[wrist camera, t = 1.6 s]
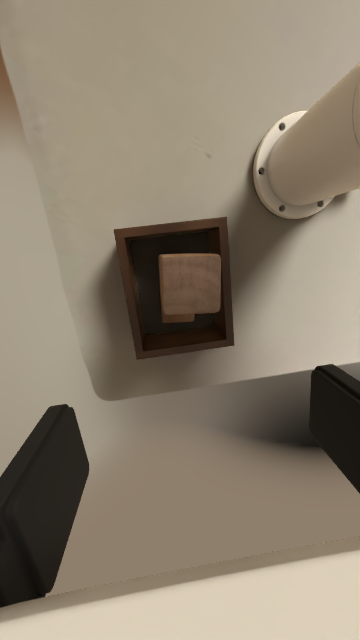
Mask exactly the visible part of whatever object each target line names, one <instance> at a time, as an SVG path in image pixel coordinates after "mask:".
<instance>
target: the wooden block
mask: <svg viewBox="0 0 360 640" xmlns="http://www.w3.org/2000/svg"><path fill="white" fill-rule="evenodd" d="M158 262H159V282H160V302H161V318H162V322H163V323H174V322H192V321H194V319H195V314H201V313H216V312H218V311H219V309H220V292H221V258H220V255H217V254H196V253H182V254H160V255H159V256H158Z"/></svg>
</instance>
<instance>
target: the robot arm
mask: <svg viewBox="0 0 360 640" xmlns="http://www.w3.org/2000/svg"><path fill="white" fill-rule="evenodd" d="M279 129H280V130H279ZM258 171H259V172H260V173H261V174H259V172H258ZM253 178H254V185H255V188H256V191H257V194H258V196H259V198H260V200H261V201H262V203H263V204H264V205H265V206H266V208H267V209H268V210H270V211H271V212H272V213H274V214H275V215H277V216H280V217H282V218H287V219H299V218H305V217H308V216H311V215H313V214H315V213H317V212H319V211H321V210H322V209H323V208H324V207H326V206H327V205H328V204H329V203H330V202H331V200H332V199H333V198H334V197H335V196H336V195H340V194H343V193H346V192H349V191H352V190H355V189H358V188H360V63H358V64H357V65H356V66H355V67H354V68H353V69H352V70H351V71H350V72H349V73H348V74H347V75H346V76H345V77H343V78H342V79H341V80H340V81H339V82H338V83H337V84H336V85H335V86H334V87H333V88H332V89H331V90H330V91H329V92H327V93H326V94H325V95H324V96H323V97H322V98H321V99H320V100H319V101H318V102H317V103H316V104H315V105H314V106H312V107H311V108H310V109H309V110H308V111H299V112H295V113H292V114H290V115H287V116H285V117H284V118H282V119H281V120H279V121H278V122H277V123H276V124H275V125H274V126H273V127H272V128H271V129H270V130H269V131H268V132H267V134H266V135H265V136H264V137H263V139H262V141H261V143H260V145H259V147H258V150H257V152H256V155H255V160H254V166H253ZM317 204H318V206H317ZM279 208H280V211H279ZM309 421H310V423H309V428H310V432H311V435H312V436H313V438H314V439H315V440H316V441H317V443H318V444H319V445H320V446H321V447H322V449H323V450H324V451H325V452H326V453H327V455H328V456H329V457H330V458H331V459H332V460H333V462H334V463H335V464H336V465H337V467H338V468H339V469H340V470H341V471H342V473H343V474H344V475H345V476H346V478H347V479H348V480H349V481H350V482H351V484H352V485H353V486H354V487H355V488H356V489H357V491H358V492H359V493H360V381H358V380H356V379H355V378H353V377H352V376H350V375H349V374H347V373H346V372H344V371H343V370H341V369H340V368H338V367H336V366H335V365H333V364H329V365H322V366H317V367H316V368H315V370H314V371H312V374H311V395H310V420H309ZM88 474H89V462H88V459H87V455H86V451H85V448H84V444H83V441H82V437H81V434H80V430H79V426H78V423H77V419H76V416H75V412H74V409H73V408H72V407H69V406H68V405H67V404H63V405H56V406H51V407H49V408H48V409H47V411H46V412H45V414H44V415H43V417H42V418H41V419H40V421H39V422H38V424H37V425H36V427H35V428H34V429H33V431H32V432H31V434H30V435H29V437H28V438H27V439H26V441H25V443H24V444H23V445H22V447H21V448H20V450H19V451H18V452H17V454H16V455H15V457H14V458H13V460H12V461H11V462H10V464H9V465H8V467H7V468H6V470H5V471H4V473H3V474H2V475H1V477H0V640H360V536H358V537H353V538H347V539H341V540H336V541H330V542H325V543H319V544H314V545H308V546H303V547H298V548H292V549H287V550H282V551H276V552H271V553H266V554H260V555H255V556H250V557H244V558H239V559H234V560H229V561H223V562H218V563H213V564H208V565H202V566H197V567H192V568H186V569H181V570H176V571H171V572H166V573H161V574H156V575H151V576H145V577H140V578H136V579H131V580H125V581H120V582H115V583H110V584H105V585H100V586H94V587H89V588H85V589H80V590H75V591H71V592H66V593H62V594H57V595H52V596H48V597H45V595H46V593H49V592H50V591H51V590H52V588H53V586H54V583H55V580H56V577H57V573H58V570H59V567H60V564H61V561H62V557H63V554H64V551H65V548H66V544H67V541H68V538H69V535H70V532H71V528H72V525H73V522H74V519H75V516H76V512H77V509H78V506H79V503H80V500H81V496H82V493H83V490H84V487H85V483H86V480H87V477H88Z"/></svg>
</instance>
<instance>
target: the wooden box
mask: <svg viewBox="0 0 360 640" xmlns="http://www.w3.org/2000/svg"><path fill="white" fill-rule="evenodd" d="M203 231H208V240H209V253H210V254H217V255H220V258H221V292H220V309H219V311H218V312H216V313H214V316H215V325H214V326H207V327H200V328H193V329H186V330H179V331H172V332H164V333H157V334H150V335H145V332H144V326H143V320H142V314H141V308H140V301H139V295H138V289H137V283H136V277H135V271H134V265H133V259H132V253H131V247H130V241H129V240H134V239H143V238H152V237H160V236H169V235H177V234H186V233H195V232H203ZM114 234H115V240H116V246H117V251H118V257H119V262H120V268H121V273H122V279H123V285H124V290H125V296H126V301H127V307H128V313H129V318H130V324H131V329H132V335H133V341H134V346H135V352H136V357H137V360H138V359H145V358H151V357H158V356H165V355H172V354H179V353H186V352H193V351H199V350H206V349H213V348H220V347H227V346H234V332H233V315H232V298H231V281H230V264H229V246H228V229H227V217H220V218H211V219H203V220H194V221H185V222H176V223H167V224H158V225H150V226H141V227H132V228H123V229H114Z"/></svg>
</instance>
